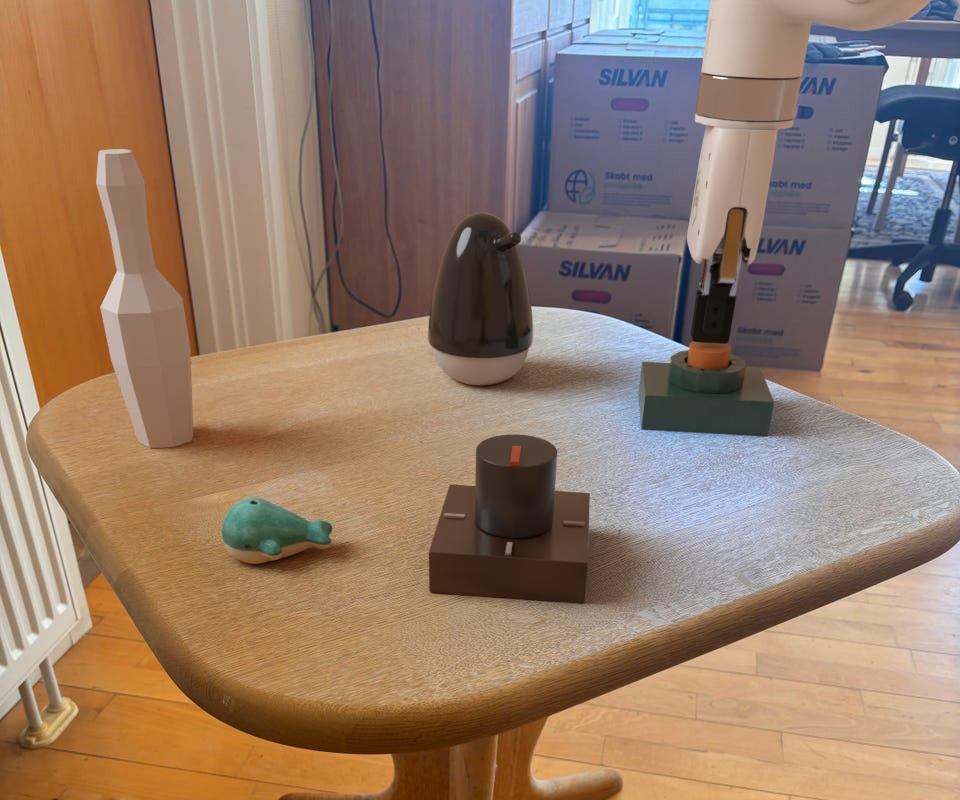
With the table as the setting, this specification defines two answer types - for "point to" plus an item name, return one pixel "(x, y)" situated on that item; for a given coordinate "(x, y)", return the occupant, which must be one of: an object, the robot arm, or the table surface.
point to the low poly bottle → (143, 313)
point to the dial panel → (511, 553)
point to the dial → (515, 485)
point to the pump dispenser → (481, 304)
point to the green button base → (704, 398)
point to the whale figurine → (270, 532)
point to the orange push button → (709, 355)
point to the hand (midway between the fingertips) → (709, 339)
